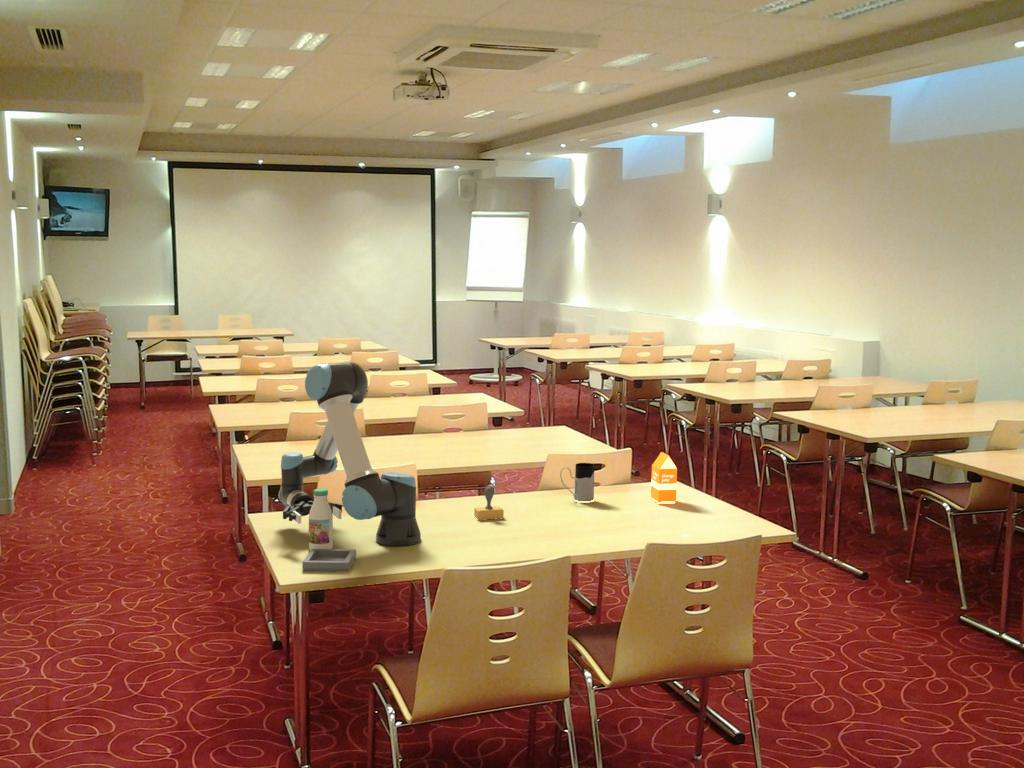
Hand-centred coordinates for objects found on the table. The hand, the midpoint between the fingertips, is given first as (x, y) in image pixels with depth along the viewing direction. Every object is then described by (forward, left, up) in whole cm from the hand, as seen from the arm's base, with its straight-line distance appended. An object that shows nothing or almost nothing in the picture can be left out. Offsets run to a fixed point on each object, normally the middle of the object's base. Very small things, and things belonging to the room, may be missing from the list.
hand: (320, 517), depth 312 cm
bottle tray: (-6, +15, -11) cm, 20 cm away
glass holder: (-89, -74, -11) cm, 116 cm away
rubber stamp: (-54, -45, -11) cm, 71 cm away
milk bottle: (0, -1, -11) cm, 11 cm away
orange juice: (-124, -75, -11) cm, 145 cm away
